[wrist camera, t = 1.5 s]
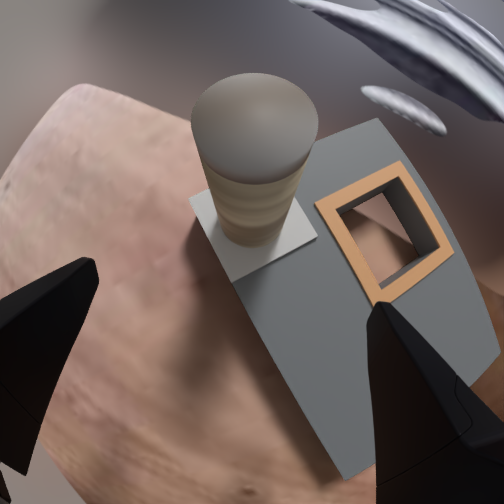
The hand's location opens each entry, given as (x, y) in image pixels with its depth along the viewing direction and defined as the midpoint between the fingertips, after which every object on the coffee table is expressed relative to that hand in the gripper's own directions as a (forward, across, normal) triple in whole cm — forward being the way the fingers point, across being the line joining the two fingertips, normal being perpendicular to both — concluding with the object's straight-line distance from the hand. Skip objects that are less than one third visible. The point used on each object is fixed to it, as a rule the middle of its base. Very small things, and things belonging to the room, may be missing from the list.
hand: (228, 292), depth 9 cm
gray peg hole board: (+10, -9, +7) cm, 15 cm away
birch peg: (+10, 0, +2) cm, 10 cm away
